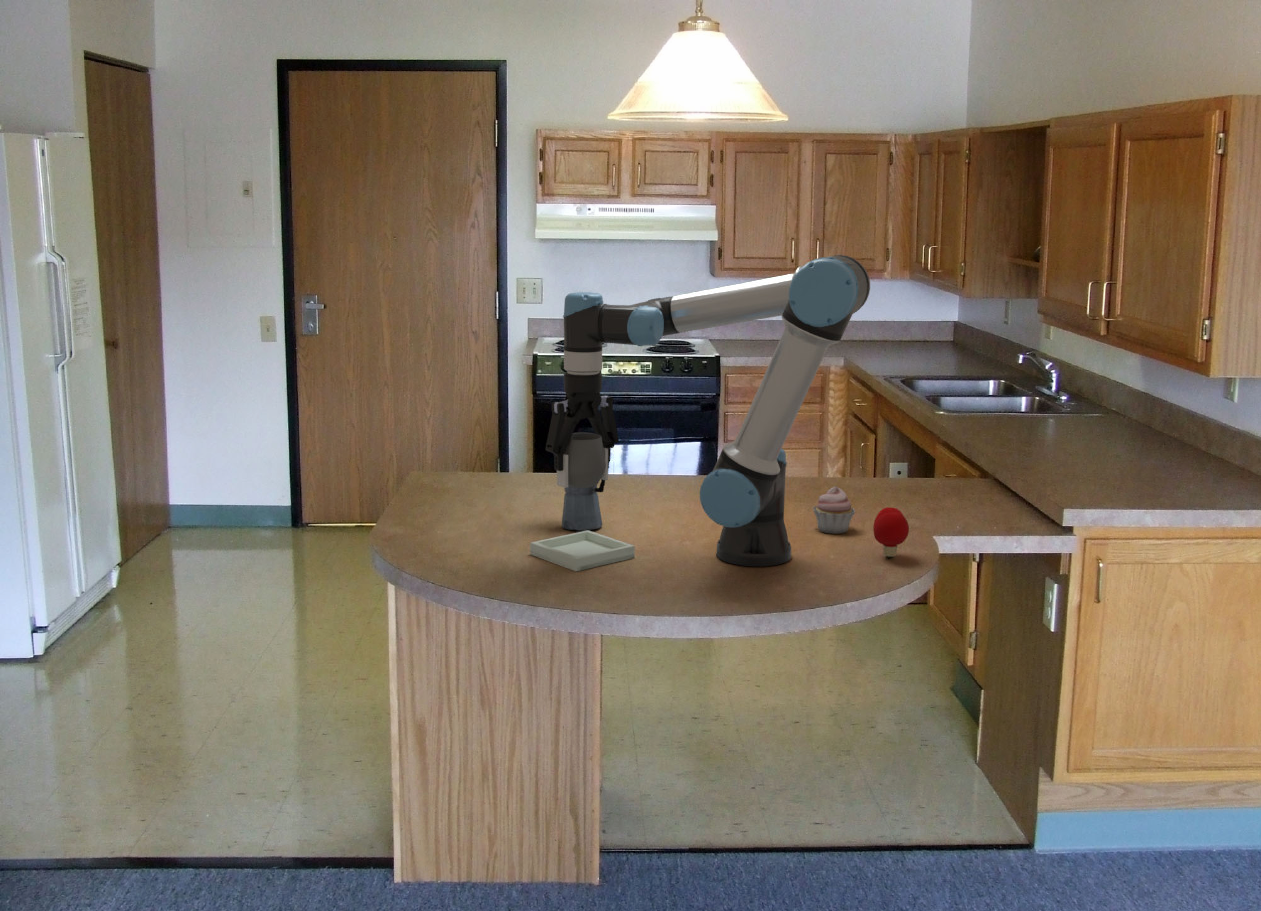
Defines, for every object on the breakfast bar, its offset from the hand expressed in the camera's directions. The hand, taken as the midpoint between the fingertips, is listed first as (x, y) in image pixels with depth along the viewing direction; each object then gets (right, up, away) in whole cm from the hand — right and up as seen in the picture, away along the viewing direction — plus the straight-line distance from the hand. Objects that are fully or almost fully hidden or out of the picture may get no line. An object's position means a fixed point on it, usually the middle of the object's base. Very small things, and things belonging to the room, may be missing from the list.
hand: (582, 482), depth 264 cm
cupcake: (+54, -11, +24) cm, 60 cm away
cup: (0, -1, 0) cm, 1 cm away
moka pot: (-1, -10, +25) cm, 27 cm away
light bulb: (+62, -16, +4) cm, 64 cm away
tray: (0, -15, +3) cm, 15 cm away
